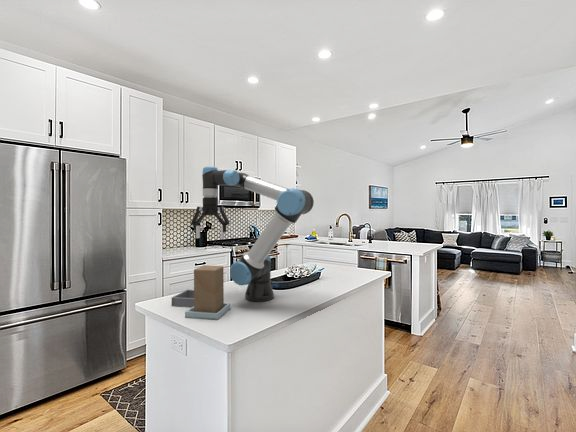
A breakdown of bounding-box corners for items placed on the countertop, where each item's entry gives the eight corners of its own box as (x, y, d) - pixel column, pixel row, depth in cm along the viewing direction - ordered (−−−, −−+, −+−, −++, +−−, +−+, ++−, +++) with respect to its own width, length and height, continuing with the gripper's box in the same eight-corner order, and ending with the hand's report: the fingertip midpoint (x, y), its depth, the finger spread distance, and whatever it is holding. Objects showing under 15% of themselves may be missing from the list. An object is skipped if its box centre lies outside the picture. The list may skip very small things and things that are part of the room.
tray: (230, 308, 146) (230, 303, 146) (217, 319, 131) (217, 314, 131) (200, 306, 149) (200, 301, 149) (185, 317, 134) (184, 311, 134)
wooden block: (215, 316, 134) (214, 270, 134) (193, 314, 136) (193, 269, 136) (224, 308, 144) (223, 265, 144) (203, 307, 146) (203, 265, 145)
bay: (210, 298, 162) (210, 290, 162) (197, 307, 148) (197, 299, 147) (187, 297, 165) (187, 289, 165) (171, 305, 150) (171, 297, 150)
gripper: (235, 197, 161) (235, 238, 161) (191, 197, 165) (191, 237, 166) (230, 196, 153) (230, 239, 154) (184, 197, 158) (184, 238, 158)
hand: (210, 238), depth 160 cm, fingers open, 13 cm apart
